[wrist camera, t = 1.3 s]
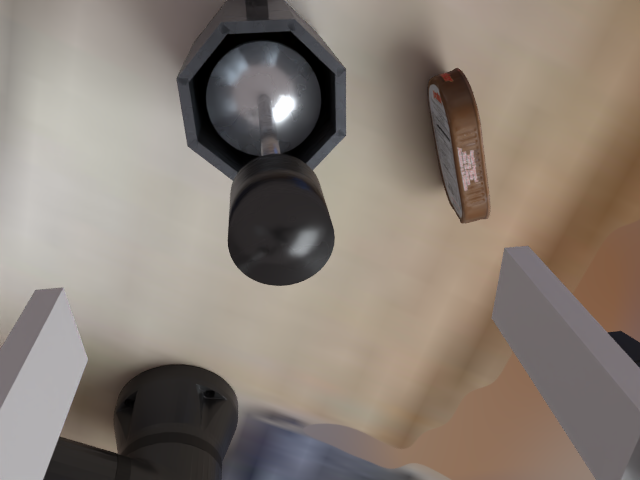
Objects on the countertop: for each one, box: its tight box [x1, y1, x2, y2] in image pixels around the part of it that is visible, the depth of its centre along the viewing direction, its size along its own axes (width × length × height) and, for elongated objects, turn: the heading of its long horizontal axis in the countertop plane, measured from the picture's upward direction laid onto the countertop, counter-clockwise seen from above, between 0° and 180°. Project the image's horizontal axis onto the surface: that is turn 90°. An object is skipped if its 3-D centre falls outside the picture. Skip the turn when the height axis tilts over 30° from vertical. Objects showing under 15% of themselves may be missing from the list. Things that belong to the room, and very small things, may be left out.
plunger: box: [206, 40, 335, 286], centre depth 28 cm, size 8×8×20 cm
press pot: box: [177, 0, 346, 181], centre depth 40 cm, size 14×11×14 cm
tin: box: [428, 68, 490, 223], centre depth 49 cm, size 15×3×8 cm, turn 16°
